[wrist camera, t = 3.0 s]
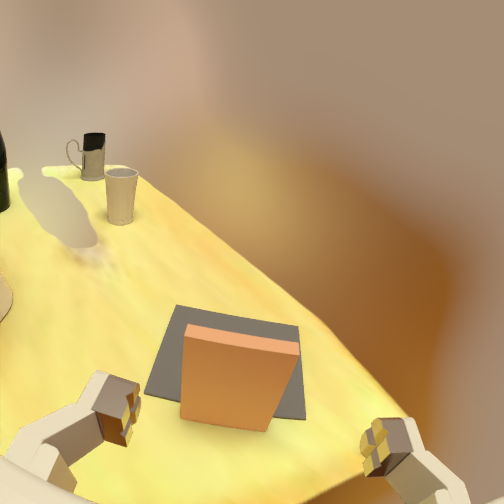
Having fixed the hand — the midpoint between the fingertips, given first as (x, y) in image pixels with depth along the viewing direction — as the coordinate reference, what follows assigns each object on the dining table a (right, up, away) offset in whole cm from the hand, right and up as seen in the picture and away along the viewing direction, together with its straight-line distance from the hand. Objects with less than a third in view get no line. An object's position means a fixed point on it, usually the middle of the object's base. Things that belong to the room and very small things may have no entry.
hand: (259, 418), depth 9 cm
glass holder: (-56, +30, +86) cm, 107 cm away
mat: (-3, -9, +33) cm, 35 cm away
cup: (-32, +13, +64) cm, 73 cm away
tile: (-4, -14, +24) cm, 28 cm away
